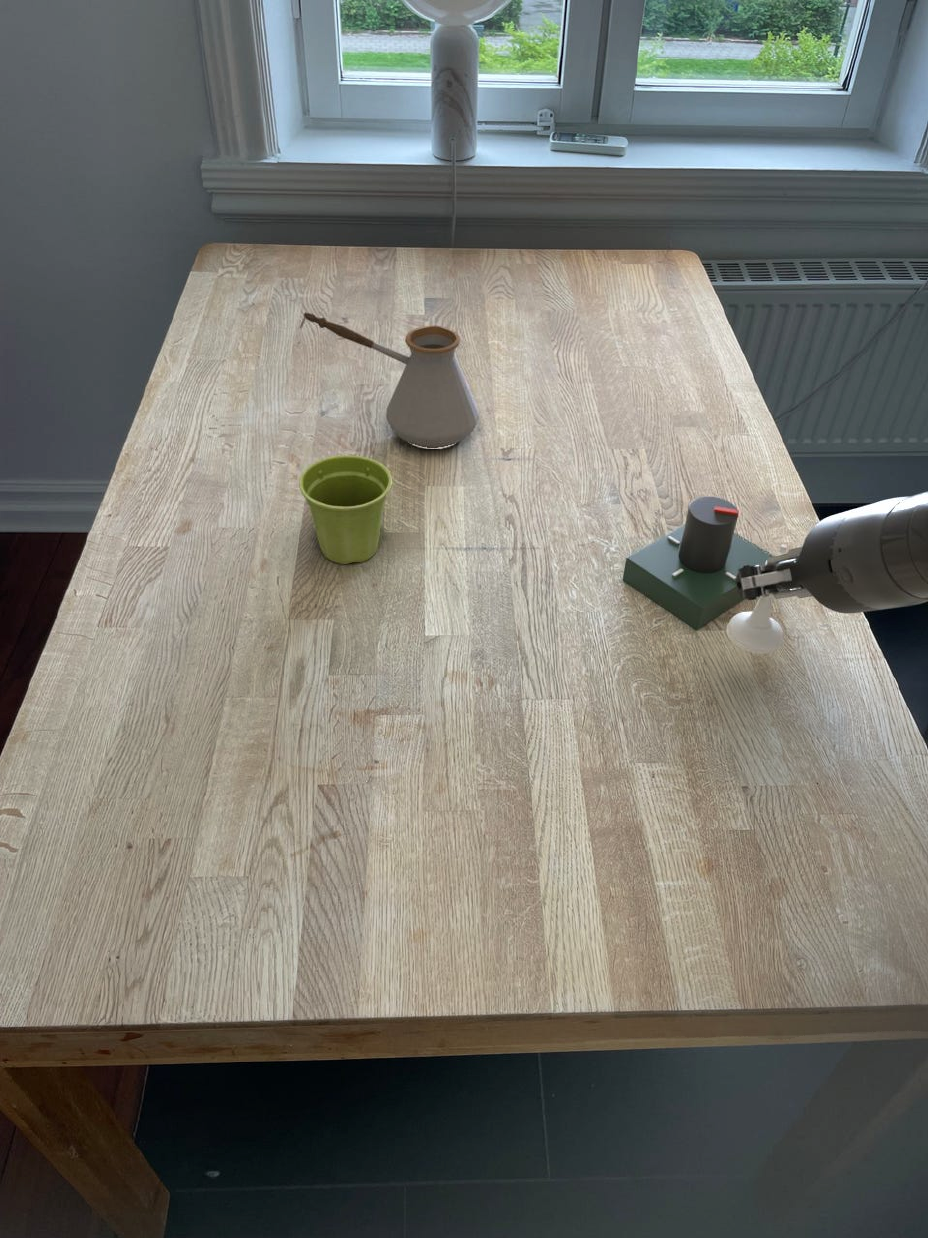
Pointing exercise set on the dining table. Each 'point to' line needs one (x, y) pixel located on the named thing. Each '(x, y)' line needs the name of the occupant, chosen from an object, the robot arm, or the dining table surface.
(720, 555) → the knob
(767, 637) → the chess piece
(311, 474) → the plant pot
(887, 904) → the dining table surface
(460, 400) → the coffee pot
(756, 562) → the panel
